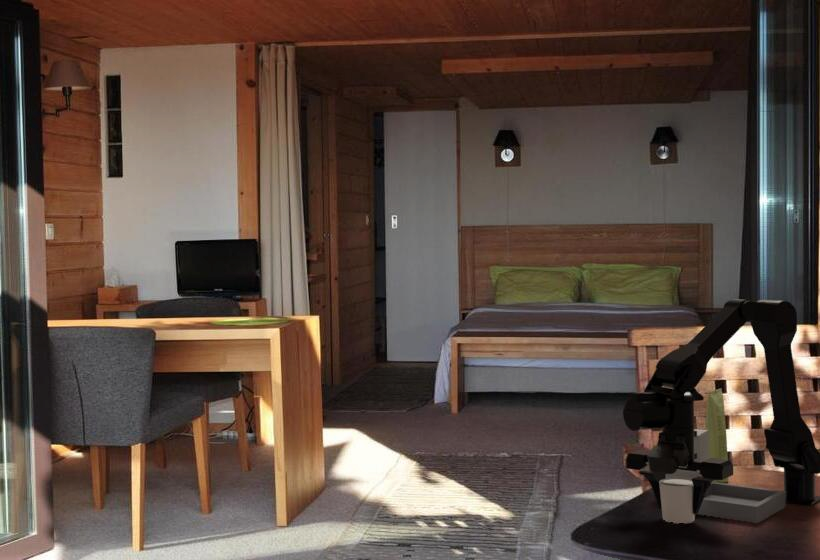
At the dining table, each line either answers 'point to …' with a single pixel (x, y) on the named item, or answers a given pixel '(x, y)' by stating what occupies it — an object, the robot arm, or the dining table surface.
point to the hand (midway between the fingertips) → (678, 511)
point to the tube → (716, 427)
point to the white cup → (677, 500)
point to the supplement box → (702, 454)
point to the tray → (741, 502)
